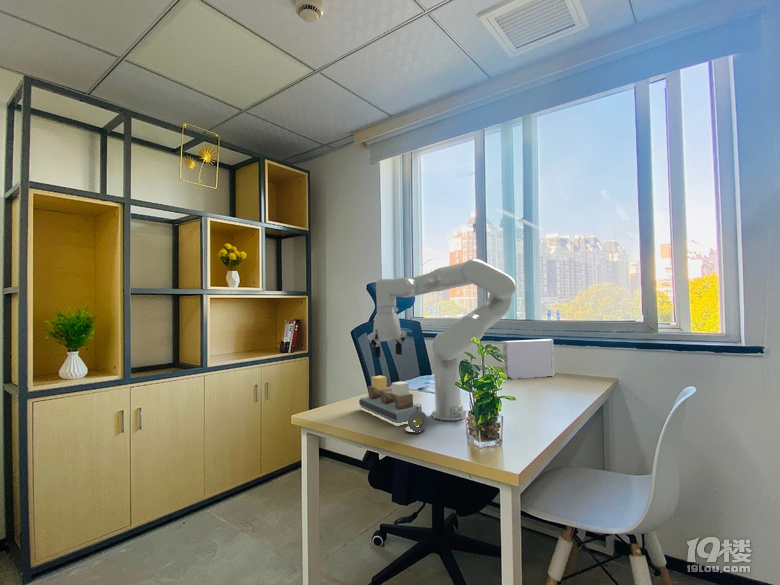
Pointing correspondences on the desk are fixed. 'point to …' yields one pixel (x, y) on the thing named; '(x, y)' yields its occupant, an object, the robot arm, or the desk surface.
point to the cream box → (400, 388)
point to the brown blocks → (391, 397)
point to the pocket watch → (417, 420)
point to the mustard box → (378, 382)
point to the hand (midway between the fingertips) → (388, 355)
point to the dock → (387, 409)
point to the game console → (528, 358)
